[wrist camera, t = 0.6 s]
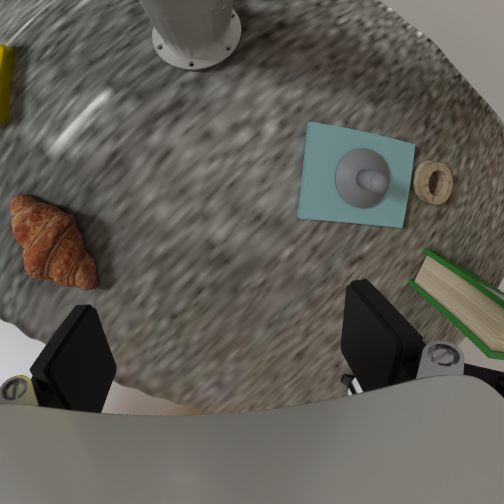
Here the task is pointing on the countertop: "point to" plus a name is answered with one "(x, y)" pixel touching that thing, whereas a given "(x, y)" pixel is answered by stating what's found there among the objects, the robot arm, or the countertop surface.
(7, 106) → the element tile
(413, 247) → the countertop surface
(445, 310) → the hardback book
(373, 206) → the teal plate with knob
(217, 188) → the countertop surface
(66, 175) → the countertop surface
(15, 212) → the pastry
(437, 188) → the ring
